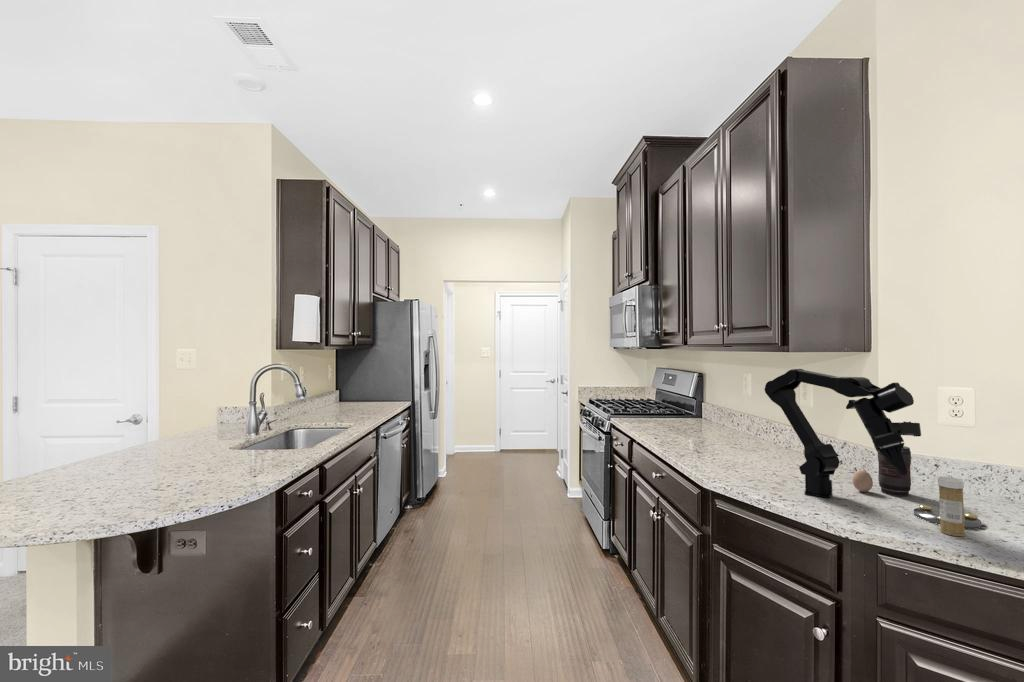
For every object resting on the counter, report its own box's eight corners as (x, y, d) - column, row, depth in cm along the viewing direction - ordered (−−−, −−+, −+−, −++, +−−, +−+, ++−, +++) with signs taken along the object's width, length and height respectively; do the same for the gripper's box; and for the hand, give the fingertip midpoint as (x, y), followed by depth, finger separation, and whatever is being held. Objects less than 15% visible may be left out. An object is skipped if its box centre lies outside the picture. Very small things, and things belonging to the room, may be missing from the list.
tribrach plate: (915, 521, 120) (915, 514, 120) (912, 507, 130) (912, 501, 130) (985, 533, 112) (985, 525, 112) (976, 518, 122) (976, 511, 122)
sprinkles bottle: (967, 534, 111) (965, 479, 111) (962, 538, 108) (960, 482, 109) (942, 528, 115) (940, 475, 115) (937, 532, 112) (935, 477, 112)
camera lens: (918, 498, 139) (917, 448, 139) (888, 496, 140) (886, 447, 141) (901, 490, 147) (900, 443, 147) (873, 488, 148) (871, 442, 149)
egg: (864, 489, 148) (863, 468, 148) (877, 494, 143) (876, 472, 143) (848, 489, 148) (848, 468, 148) (861, 494, 143) (860, 472, 143)
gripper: (908, 403, 117) (945, 463, 110) (907, 413, 131) (939, 467, 124) (859, 417, 123) (891, 475, 116) (863, 426, 137) (891, 478, 129)
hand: (905, 474), depth 121 cm, fingers open, 9 cm apart
